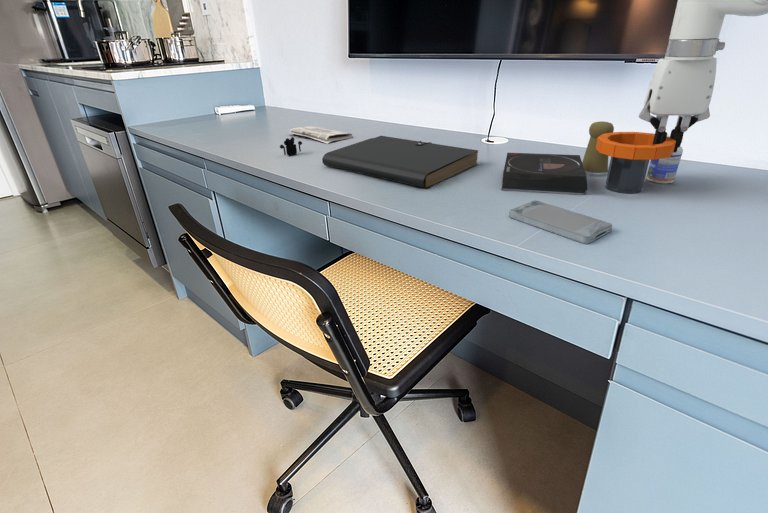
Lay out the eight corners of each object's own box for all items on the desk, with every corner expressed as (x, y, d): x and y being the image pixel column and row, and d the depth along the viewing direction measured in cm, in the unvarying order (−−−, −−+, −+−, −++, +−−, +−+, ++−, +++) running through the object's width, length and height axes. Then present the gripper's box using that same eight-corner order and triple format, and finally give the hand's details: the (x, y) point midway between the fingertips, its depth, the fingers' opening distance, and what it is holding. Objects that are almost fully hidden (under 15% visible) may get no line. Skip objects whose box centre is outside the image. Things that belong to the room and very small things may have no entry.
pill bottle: (645, 175, 100) (656, 132, 95) (673, 177, 97) (685, 133, 93) (646, 182, 95) (657, 137, 91) (675, 185, 93) (688, 139, 88)
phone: (586, 245, 70) (588, 237, 70) (506, 216, 82) (507, 210, 81) (613, 230, 74) (614, 224, 74) (533, 205, 86) (534, 199, 85)
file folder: (479, 148, 110) (423, 174, 95) (478, 164, 112) (423, 192, 97) (381, 134, 130) (321, 153, 114) (382, 147, 132) (323, 168, 116)
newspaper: (286, 135, 154) (285, 127, 153) (315, 132, 162) (314, 125, 161) (324, 144, 139) (323, 136, 138) (353, 140, 146) (353, 133, 145)
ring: (658, 142, 94) (660, 131, 92) (683, 160, 82) (686, 147, 81) (590, 142, 96) (592, 131, 95) (605, 159, 85) (607, 147, 83)
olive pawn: (594, 173, 102) (603, 125, 97) (575, 167, 107) (582, 121, 102) (613, 169, 104) (623, 122, 99) (593, 163, 109) (601, 118, 104)
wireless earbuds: (282, 157, 127) (279, 140, 124) (278, 156, 128) (276, 138, 126) (304, 153, 130) (301, 136, 128) (300, 151, 132) (298, 135, 130)
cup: (636, 183, 95) (645, 146, 91) (646, 194, 89) (656, 155, 85) (601, 182, 97) (609, 146, 93) (609, 193, 91) (617, 155, 87)
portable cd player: (586, 195, 90) (590, 176, 88) (501, 190, 95) (503, 172, 93) (579, 171, 104) (582, 155, 102) (505, 168, 109) (507, 152, 107)
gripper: (729, 47, 81) (700, 146, 90) (636, 51, 84) (617, 146, 93) (750, 49, 75) (717, 155, 83) (649, 53, 78) (627, 155, 86)
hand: (664, 150), depth 88 cm, fingers closed on ring, 2 cm apart
